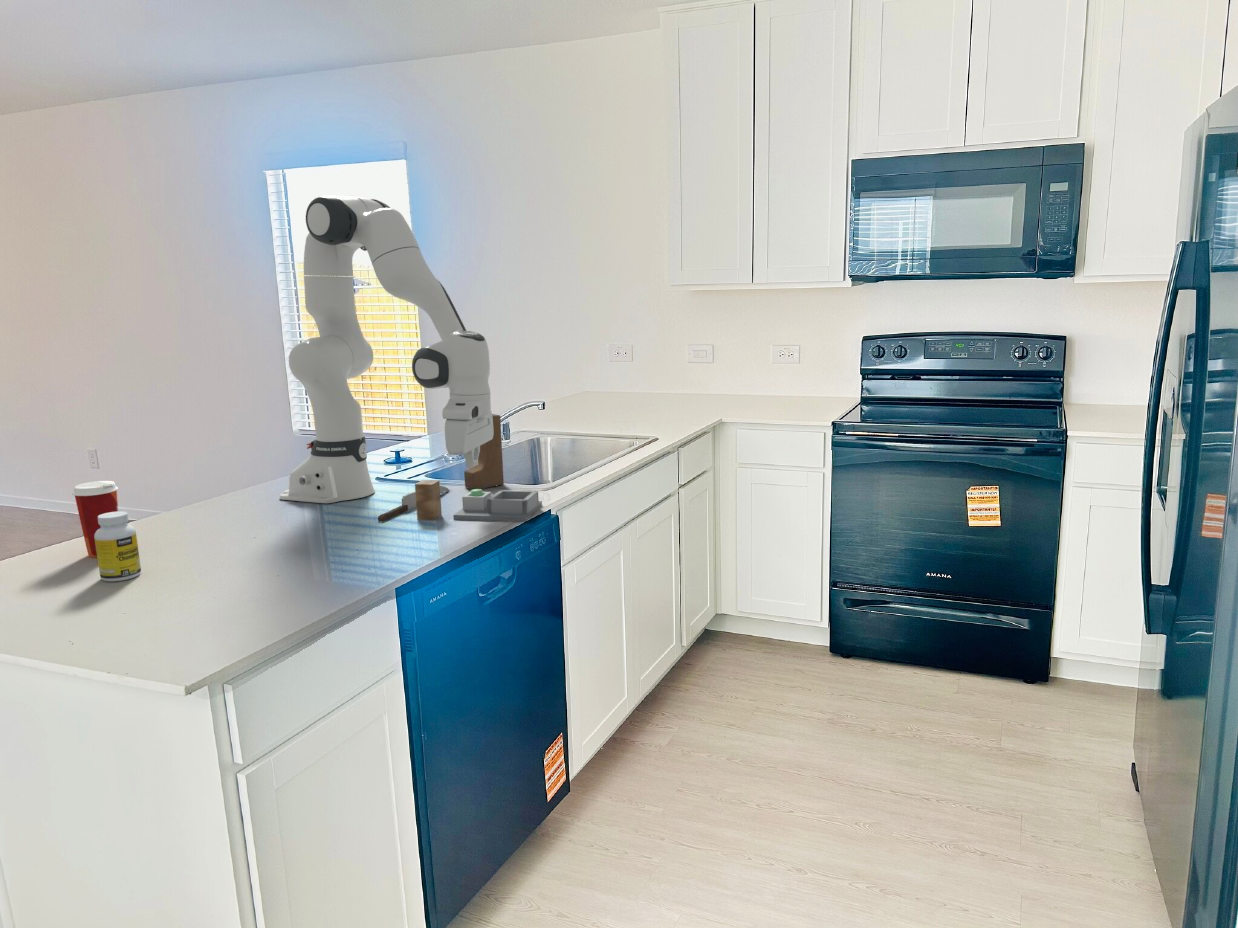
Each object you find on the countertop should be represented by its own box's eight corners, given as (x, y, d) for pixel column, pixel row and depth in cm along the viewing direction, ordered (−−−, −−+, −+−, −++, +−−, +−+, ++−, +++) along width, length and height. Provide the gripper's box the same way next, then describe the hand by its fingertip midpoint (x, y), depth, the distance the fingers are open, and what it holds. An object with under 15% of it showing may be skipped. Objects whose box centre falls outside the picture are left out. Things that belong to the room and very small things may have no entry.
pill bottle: (113, 585, 153) (103, 521, 151) (93, 579, 156) (83, 516, 154) (149, 574, 158) (140, 512, 156) (129, 568, 162) (120, 508, 160)
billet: (417, 519, 191) (414, 484, 190) (424, 514, 195) (422, 480, 194) (434, 520, 191) (432, 484, 189) (441, 515, 194) (439, 480, 193)
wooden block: (473, 490, 217) (469, 419, 213) (464, 487, 220) (460, 417, 217) (504, 484, 222) (500, 415, 219) (494, 482, 226) (491, 413, 222)
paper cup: (136, 549, 174) (126, 481, 171) (102, 561, 167) (91, 489, 164) (106, 546, 177) (96, 479, 174) (72, 557, 169) (61, 487, 167)
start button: (469, 504, 196) (468, 491, 195) (473, 501, 198) (473, 489, 197) (480, 505, 195) (480, 491, 194) (484, 502, 198) (484, 489, 197)
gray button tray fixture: (453, 519, 191) (452, 501, 190) (476, 503, 204) (475, 486, 203) (523, 521, 188) (522, 503, 187) (541, 505, 201) (541, 488, 200)
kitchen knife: (381, 507, 189) (450, 475, 217) (377, 507, 190) (446, 474, 217) (383, 526, 190) (451, 491, 218) (378, 526, 191) (448, 491, 218)
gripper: (473, 398, 203) (475, 457, 206) (438, 412, 183) (441, 476, 186) (499, 399, 201) (500, 458, 204) (467, 413, 182) (469, 477, 185)
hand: (472, 467), depth 195 cm, fingers closed
